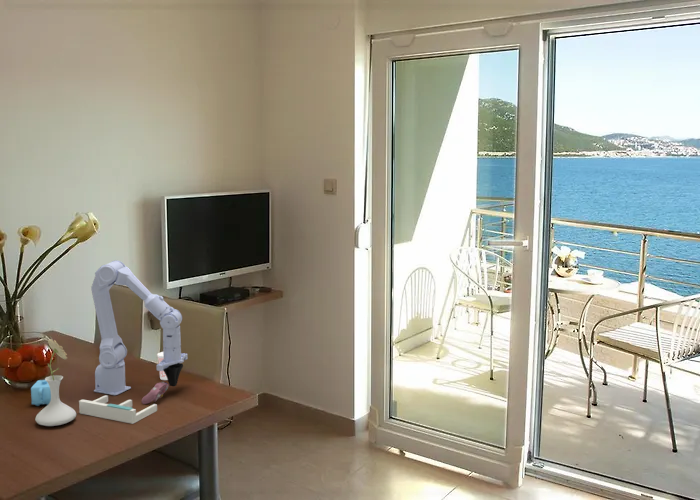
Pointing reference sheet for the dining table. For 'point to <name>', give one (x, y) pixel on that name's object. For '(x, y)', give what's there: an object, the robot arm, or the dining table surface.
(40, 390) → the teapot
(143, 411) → the comb rack
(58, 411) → the flower in vase
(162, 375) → the beverage cup
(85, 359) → the dining table surface
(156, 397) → the video game controller
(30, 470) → the dining table surface
